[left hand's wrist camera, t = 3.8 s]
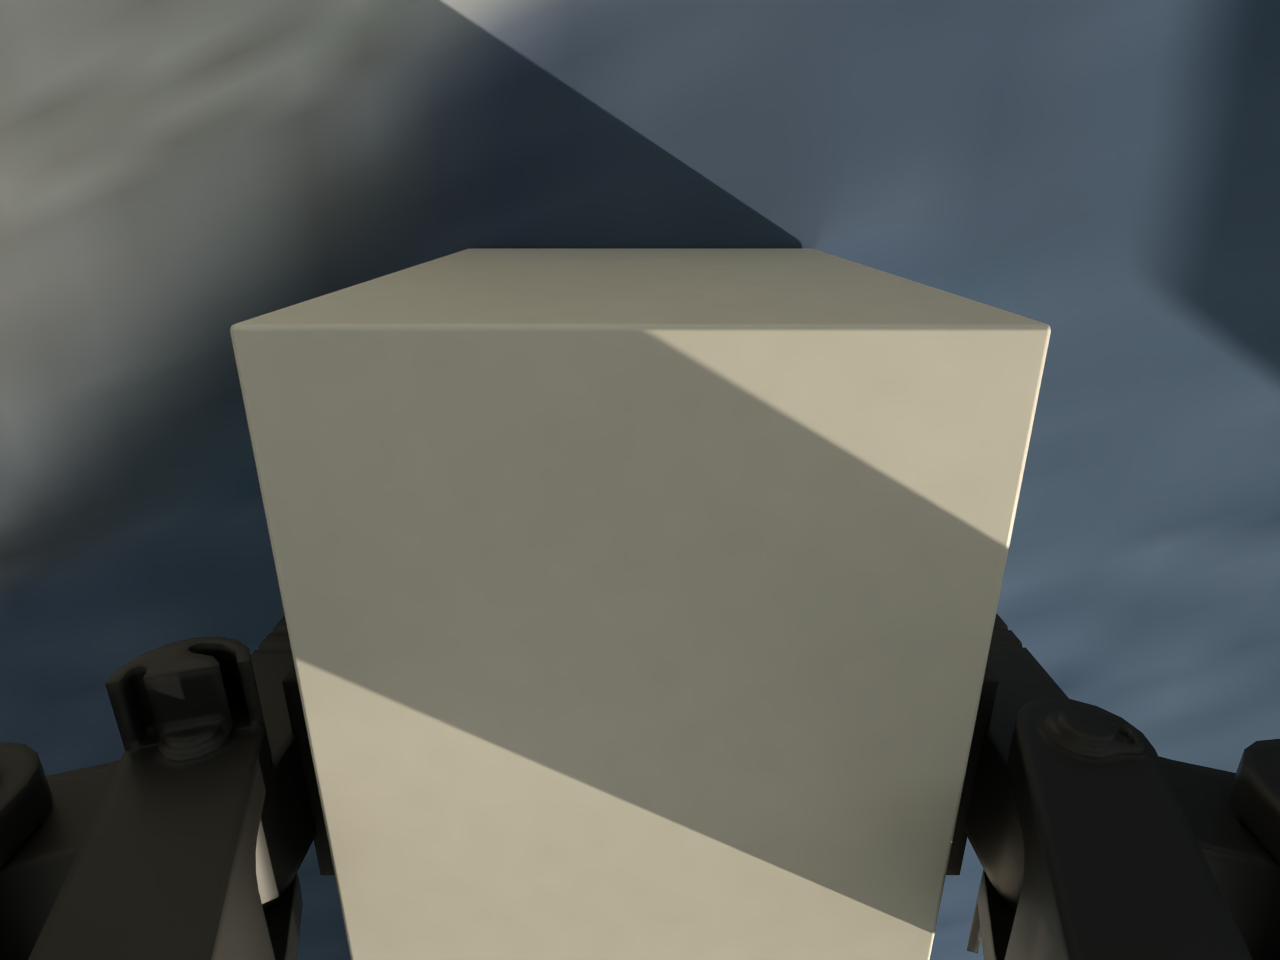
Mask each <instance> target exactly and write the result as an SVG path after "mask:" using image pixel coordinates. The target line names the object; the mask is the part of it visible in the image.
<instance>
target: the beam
mask: <svg viewBox="0 0 1280 960" xmlns="http://www.w3.org/2000/svg"><path fill="white" fill-rule="evenodd" d="M1050 332H1051V331H1050V326H1049V325H1047V324H1045V323H1042V322H1038V321H1035V320H1032V319H1029V318H1026V317H1023V316H1020V315H1017V314H1014V313H1010V312H1007V311H1004V310H1001V309H998V308H995V307H992V306H989V305H986V304H983V303H979V302H976V301H973V300H970V299H967V298H964V297H961V296H958V295H955V294H951V293H948V292H945V291H942V290H939V289H936V288H933V287H930V286H927V285H923V284H920V283H917V282H914V281H911V280H908V279H905V278H902V277H899V276H895V275H892V274H889V273H886V272H883V271H880V270H877V269H874V268H871V267H867V266H864V265H861V264H858V263H855V262H852V261H849V260H846V259H843V258H840V257H836V256H833V255H830V254H827V253H824V252H821V251H818V250H815V249H466V250H463V251H460V252H456V253H453V254H450V255H447V256H444V257H441V258H438V259H435V260H432V261H429V262H425V263H422V264H419V265H416V266H413V267H410V268H407V269H404V270H401V271H398V272H394V273H391V274H388V275H385V276H382V277H379V278H376V279H373V280H370V281H366V282H363V283H360V284H357V285H354V286H351V287H348V288H345V289H342V290H339V291H335V292H332V293H329V294H326V295H323V296H320V297H317V298H314V299H311V300H308V301H304V302H301V303H298V304H295V305H292V306H289V307H286V308H283V309H280V310H276V311H273V312H270V313H267V314H264V315H261V316H258V317H255V318H252V319H249V320H245V321H242V322H239V323H236V324H234V325H232V326H231V329H230V333H231V338H232V344H233V349H234V354H235V359H236V364H237V370H238V375H239V380H240V385H241V390H242V396H243V401H244V406H245V411H246V416H247V421H248V427H249V432H250V437H251V442H252V447H253V453H254V458H255V463H256V468H257V473H258V479H259V484H260V489H261V494H262V499H263V505H264V510H265V515H266V520H267V525H268V530H269V536H270V541H271V546H272V551H273V556H274V562H275V567H276V572H277V577H278V582H279V588H280V593H281V598H282V603H283V608H284V614H285V619H286V624H287V629H288V634H289V639H290V645H291V650H292V655H293V660H294V665H295V671H296V676H297V681H298V686H299V691H300V697H301V702H302V707H303V712H304V717H305V723H306V728H307V733H308V738H309V743H310V748H311V754H312V759H313V764H314V769H315V774H316V780H317V785H318V790H319V795H320V800H321V806H322V811H323V816H324V821H325V826H326V832H327V837H328V842H329V847H330V852H331V857H332V863H333V868H334V873H335V878H336V883H337V889H338V894H339V899H340V904H341V909H342V915H343V920H344V925H345V930H346V935H347V941H348V946H349V951H350V956H351V960H929V959H930V954H931V949H932V944H933V938H934V933H935V928H936V923H937V918H938V913H939V907H940V902H941V897H942V892H943V887H944V881H945V876H946V871H947V866H948V861H949V856H950V850H951V845H952V840H953V835H954V830H955V824H956V819H957V814H958V809H959V804H960V799H961V793H962V788H963V783H964V778H965V773H966V767H967V762H968V757H969V752H970V747H971V742H972V736H973V731H974V726H975V721H976V716H977V710H978V705H979V700H980V695H981V690H982V685H983V679H984V674H985V669H986V664H987V659H988V653H989V648H990V643H991V638H992V633H993V628H994V622H995V617H996V612H997V607H998V602H999V596H1000V591H1001V586H1002V581H1003V576H1004V571H1005V565H1006V560H1007V555H1008V550H1009V545H1010V539H1011V534H1012V529H1013V524H1014V519H1015V514H1016V508H1017V503H1018V498H1019V493H1020V488H1021V482H1022V477H1023V472H1024V467H1025V462H1026V457H1027V451H1028V446H1029V441H1030V436H1031V431H1032V425H1033V420H1034V415H1035V410H1036V405H1037V400H1038V394H1039V389H1040V384H1041V379H1042V374H1043V368H1044V363H1045V358H1046V353H1047V348H1048V343H1049V337H1050Z"/></svg>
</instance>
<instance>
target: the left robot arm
mask: <svg viewBox="0 0 1280 960" xmlns="http://www.w3.org/2000/svg"><path fill="white" fill-rule="evenodd" d="M1007 627H1008V626H1007V625H1006V624H1005V623H1004V622H1003V620H1002V619H1001V618H1000V617H999V616H998V614H997V613H996V617H995V622H994V628H993V633H992V638H991V643H990V648H989V653H988V659H987V664H986V669H985V674H984V679H983V685H982V690H981V695H980V700H979V705H978V710H977V716H976V721H975V726H974V731H973V736H972V742H971V747H970V752H969V757H968V762H967V767H966V773H965V778H964V783H963V788H962V793H961V799H960V804H959V809H958V814H957V819H956V824H955V830H954V835H953V840H952V845H951V850H950V856H949V861H948V866H947V871H946V875H960V870H961V865H962V860H963V855H964V850H965V845H966V840H967V837H968V839H969V841H970V843H971V845H972V847H973V849H974V850H975V852H976V854H977V856H978V858H979V860H980V862H981V864H982V866H983V868H984V869H983V874H982V879H981V883H980V888H979V893H978V897H977V902H976V906H975V911H974V916H973V920H972V925H971V930H970V934H969V941H968V947H967V951H970V952H974V953H978V948H979V944H980V940H981V937H982V946H983V955H984V960H1280V739H1273V740H1263V741H1256V742H1255V743H1253V744H1252V745H1250V746H1249V747H1247V748H1246V749H1245V750H1244V752H1243V755H1242V758H1241V761H1240V764H1239V767H1238V769H1237V772H1236V773H1232V772H1228V771H1223V770H1218V769H1213V768H1208V767H1203V766H1199V765H1194V764H1189V763H1184V762H1179V761H1174V760H1170V759H1167V758H1163V757H1159V756H1158V755H1157V753H1156V751H1155V749H1154V748H1153V746H1152V745H1151V744H1150V742H1149V741H1148V740H1147V738H1146V737H1145V736H1144V734H1143V733H1142V732H1140V731H1139V730H1138V729H1136V728H1135V727H1134V726H1132V725H1131V724H1129V723H1128V722H1127V721H1125V720H1124V719H1123V718H1121V717H1119V716H1117V715H1115V714H1112V713H1110V712H1108V711H1106V710H1104V709H1102V708H1100V707H1097V706H1094V705H1090V704H1086V703H1083V702H1079V701H1075V700H1071V699H1069V698H1068V697H1067V696H1066V695H1065V693H1064V692H1063V691H1062V690H1061V689H1060V688H1059V686H1058V685H1057V684H1056V683H1055V682H1054V680H1053V679H1052V678H1051V677H1050V676H1049V675H1048V673H1047V672H1046V671H1045V670H1044V669H1043V668H1042V666H1041V665H1040V664H1039V663H1038V662H1037V660H1036V659H1035V658H1034V657H1033V656H1032V655H1031V653H1030V652H1029V651H1028V650H1027V649H1026V648H1022V643H1021V642H1020V640H1019V639H1018V638H1017V637H1016V636H1015V634H1014V633H1013V632H1012V631H1011V630H1008V628H1007ZM106 688H107V691H108V694H109V698H110V701H111V704H112V708H113V711H114V714H115V718H116V721H117V724H118V728H119V731H120V734H121V738H122V741H123V744H124V748H125V752H124V754H123V756H122V759H121V760H119V761H115V762H111V763H107V764H103V765H98V766H93V767H88V768H83V769H79V770H74V771H69V772H64V773H59V774H54V775H50V776H45V773H44V770H43V768H42V765H41V762H40V759H39V756H38V753H37V752H35V751H34V750H33V749H31V748H30V747H28V746H27V745H25V744H16V743H6V742H2V743H0V960H296V957H297V948H298V939H299V931H300V922H301V913H302V904H303V902H302V895H301V888H300V883H299V879H298V874H297V871H298V869H299V867H300V865H301V863H302V861H303V859H304V857H305V855H306V853H307V851H308V849H309V847H310V845H311V843H312V841H313V839H314V843H315V848H316V853H317V858H318V863H319V868H320V873H321V875H335V873H334V868H333V863H332V857H331V852H330V847H329V842H328V837H327V832H326V826H325V821H324V816H323V811H322V806H321V800H320V795H319V790H318V785H317V780H316V774H315V769H314V764H313V759H312V754H311V748H310V743H309V738H308V733H307V728H306V723H305V717H304V712H303V707H302V702H301V697H300V691H299V686H298V681H297V676H296V671H295V665H294V660H293V655H292V650H291V645H290V639H289V634H288V629H287V624H286V619H285V616H284V617H283V618H282V619H281V620H280V622H279V623H278V624H277V625H276V626H275V628H274V631H273V633H270V634H269V635H268V636H267V637H266V638H265V640H264V641H263V642H262V643H261V644H260V645H259V650H255V651H254V653H253V654H252V655H251V656H250V652H249V648H247V647H246V646H245V645H243V644H242V643H241V642H239V641H238V640H233V639H228V638H223V637H205V638H192V639H188V640H184V641H180V642H175V643H171V644H167V645H164V646H162V647H159V648H157V649H154V650H152V651H149V652H147V653H145V654H142V655H140V656H138V657H137V658H135V659H134V660H132V661H130V662H129V663H127V664H126V665H124V666H123V667H121V668H119V669H118V670H117V671H116V673H115V674H114V675H113V676H112V677H111V678H110V679H109V680H108V681H107V683H106Z"/></svg>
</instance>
